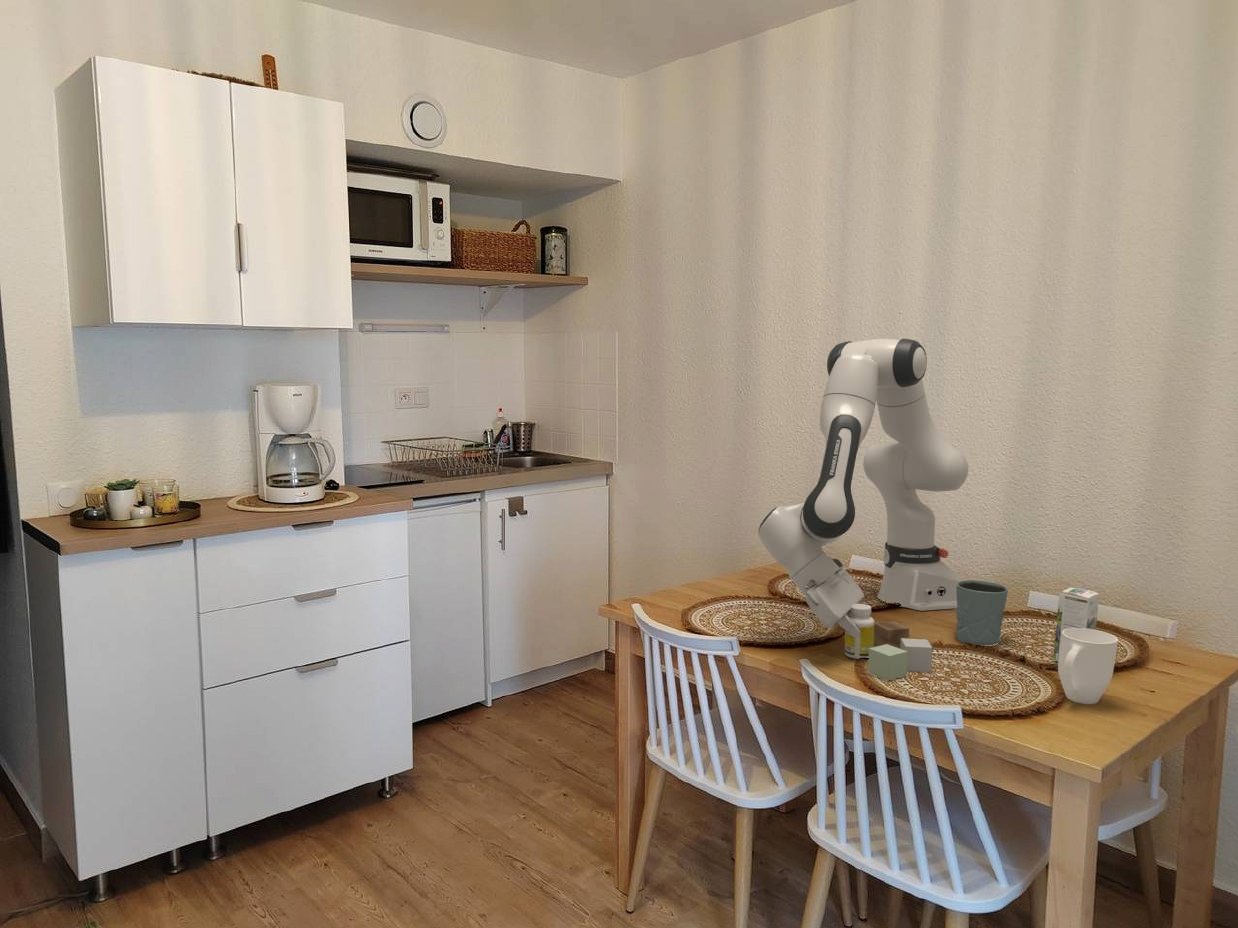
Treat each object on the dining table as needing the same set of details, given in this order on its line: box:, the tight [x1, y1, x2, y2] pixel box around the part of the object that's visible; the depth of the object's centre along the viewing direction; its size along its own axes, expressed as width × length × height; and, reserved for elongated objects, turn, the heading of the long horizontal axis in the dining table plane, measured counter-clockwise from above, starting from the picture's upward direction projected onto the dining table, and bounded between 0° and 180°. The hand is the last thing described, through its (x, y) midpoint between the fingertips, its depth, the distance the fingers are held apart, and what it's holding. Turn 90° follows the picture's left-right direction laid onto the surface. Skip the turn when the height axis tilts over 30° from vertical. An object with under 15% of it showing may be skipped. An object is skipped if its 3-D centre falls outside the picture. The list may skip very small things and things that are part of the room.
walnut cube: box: [874, 620, 910, 649], centre depth 188 cm, size 5×5×5 cm
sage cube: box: [867, 644, 908, 681], centre depth 172 cm, size 5×5×5 cm
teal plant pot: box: [955, 579, 1009, 645], centre depth 193 cm, size 10×10×12 cm
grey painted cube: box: [900, 638, 933, 673], centre depth 177 cm, size 5×5×5 cm
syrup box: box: [1052, 587, 1100, 661], centre depth 180 cm, size 6×6×14 cm
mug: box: [1057, 628, 1119, 705], centre depth 160 cm, size 12×9×12 cm
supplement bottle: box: [844, 603, 875, 660], centre depth 183 cm, size 6×6×10 cm
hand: (862, 630), depth 183 cm, fingers closed on supplement bottle, 6 cm apart
